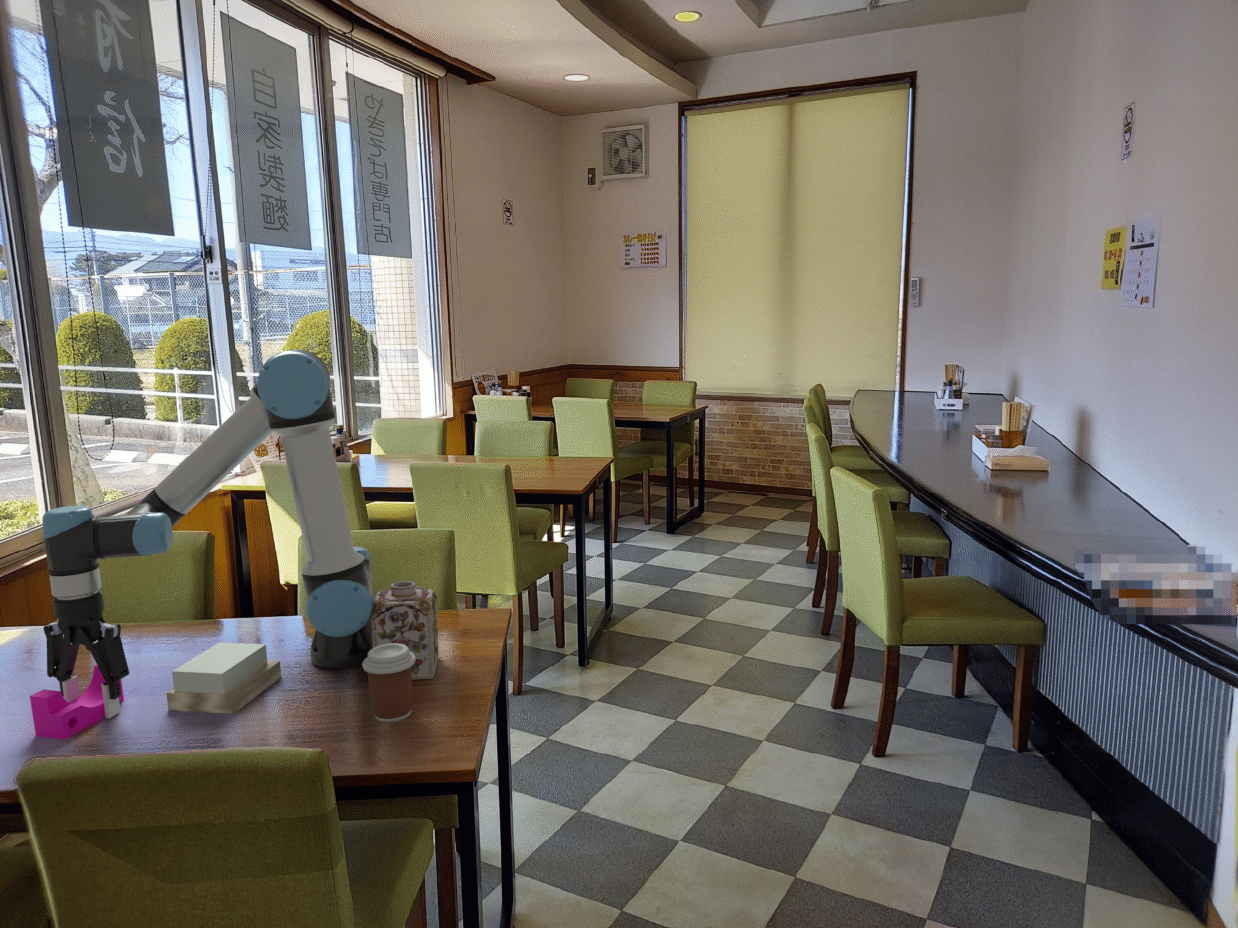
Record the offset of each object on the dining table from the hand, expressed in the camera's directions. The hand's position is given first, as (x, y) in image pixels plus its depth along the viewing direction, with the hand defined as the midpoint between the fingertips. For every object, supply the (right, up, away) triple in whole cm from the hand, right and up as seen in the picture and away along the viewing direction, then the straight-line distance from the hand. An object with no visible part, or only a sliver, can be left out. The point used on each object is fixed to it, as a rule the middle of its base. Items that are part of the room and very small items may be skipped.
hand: (93, 713), depth 153 cm
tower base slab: (+21, +1, +8) cm, 22 cm away
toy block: (-1, -1, -1) cm, 1 cm away
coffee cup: (+55, +1, -3) cm, 55 cm away
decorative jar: (+53, +4, +16) cm, 56 cm away
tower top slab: (+20, +5, +7) cm, 22 cm away
